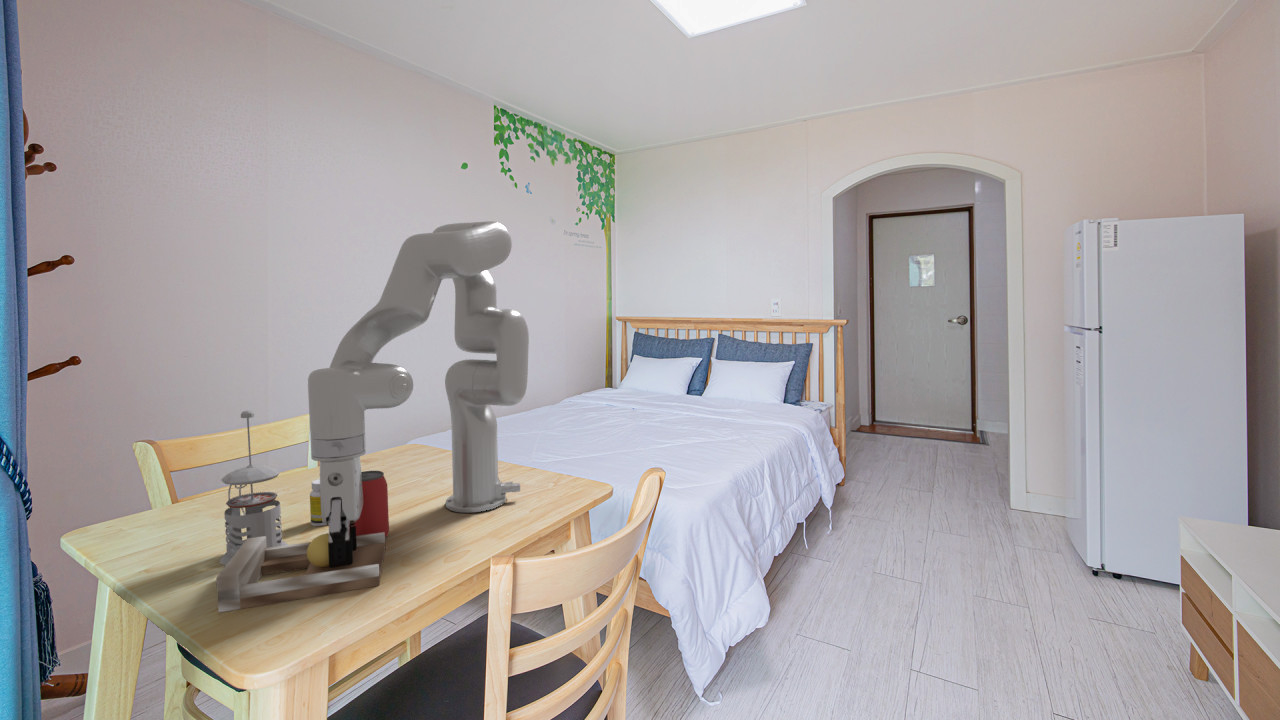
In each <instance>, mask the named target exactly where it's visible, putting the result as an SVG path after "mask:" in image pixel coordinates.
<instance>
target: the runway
mask: <svg viewBox="0 0 1280 720" xmlns="http://www.w3.org/2000/svg"><path fill="white" fill-rule="evenodd" d="M246 539H247V538H246ZM356 540H357V548H356V550H355V551H353V563H352V564H351V565H347V566H340V567H334V568H330V567H329V566H327V567H317V566H315V565H313V564H311V563H310V561H309V560H308V557H307V549H308V546H309V544H310V543H311V542H312V541H309V542H302V543H301V542H300V543H294V544H288V545H285V546H277V547H270V548H267V545H266V536H263V537H255V538H248V539H247V540H246V541H245V542H244V544H243V545H242V546H241V547H240V549H239V550H238V551H237V552H236V554H235V555H234V556H233V558H232V559H231V560H230V561H229V563H228V564H227V565H224V568H222V569H221V571H220V573H219V574H218V575H217V576H216V594H217V605H218V606H217V607H218V613H224V612H229V611H237V610H241V609H247V608H248V609H249V608H254V607H259V606H264V605H271V604H278V603H282V602H283V603H284V602H288V601H289V602H291V601H296V600H302V599H308V598H313V597H319V596H325V595H330V594H337V593H343V592H349V591H355V590H361V589H367V588H368V589H369V588H374V587H379V586H380V583H381V576H382V570H383V565H384V557H385V553H386V537H385V532H382V533H375V534H367V535H360V536H356ZM304 569H306V571H305V573H304V574H303V575H299V576H297V575H296V576H292V577H291V576H290V577H285V578H277V579H272V580H264V581H260V579H261V577H262V576H265V575H271V574H272V575H273V574H279V573H284V572H285V573H286V572H291V571H298V570H304Z"/></svg>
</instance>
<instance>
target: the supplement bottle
mask: <svg viewBox="0 0 1280 720" xmlns="http://www.w3.org/2000/svg"><path fill="white" fill-rule="evenodd" d="M309 506H310V507H309V509H310V510H309V511H310V524H311V525H312V526H315V527H317V526H318V527H323V526H326V525H325V524H324V523H323V522H322V513H321V497H320V478H318V479H315V480H313V481H311V491H310V493H309ZM327 526H329V523H328V525H327Z"/></svg>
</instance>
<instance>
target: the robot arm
mask: <svg viewBox="0 0 1280 720" xmlns="http://www.w3.org/2000/svg"><path fill="white" fill-rule="evenodd" d="M512 242H513V241H512V237H511V235H510V232H509V230H507V227H506V226H504V224H502V223H500V222H497V221H494V220H493V221H492V220H490V221H487V220H486V221H476V222H475V221H474V222H459V223H458V222H457V223H448V224H444V225H440V226H438V227H436V228H435V229H434V230H433V231H432V232H425V233H424V232H423V233H417V234H413V235H411V236H408V237H407V238H406V239H405V240H404V241H403V243H402V245H401V247H400V249H399V251H398V254H397V256H396V259H395V261H394V264H393V266H392V269H391V272H390V275H389V277H388V279H387V281H386V284H385V286H384V288H383V292H382V294H381V296H380V299H379V301H378V302H377V303H376V305H375V306H373V307H372V308H371V309H369V311H367V312H366V313H365V314H364V315H363V316H362V317H361V318H360V319H359V320H358V321H357V322H356V323H355V324H353V325H352V327H351V328H350V329H349V330H348V331H347V332H346V333H345V335H344V336H343V337H342V339H341V341H340V342H339V344H338V346H337V348H336V350H335V353H334V355H333V358H332V360H331V363H330V366H329V367H325V368H324V367H323V368H318V369H316V370H313V371H312V372H310V374H309V375H308V378H307V390H308V391H307V392H308V394H307V395H308V411H309V412H308V414H309V435H310V439H309V440H310V455H311V457H310V458H311V460H312V461H315V462H319V479H320V497H321V513H322V522H323V523H324V524H325V525H324V526H328V534H329V542H328V552H329V567H330V568H334V567H340V566H347V565H351V564H352V563H353V551H355V550H356V548H357V540H356V526H354V525H355V521H357V520H358V519H359V517H360V514H361V511H362V508H363V489H362V474H361V472H362V464H361V457H362V456H364V455H366V454H367V447H366V446H367V444H366V423H365V421H366V417H365V411H366V410H375V409H381V410H382V409H391V408H395V407H398V406H400V405H403V404H404V403H405V402H407V401H408V399H409V398H410V397H411V395H412V393H413V390H414V379H413V377H412V375H411V373H410V372H409V371H408V370H407V369H405V368H404V367H402V366H400V365H397V364H393V363H383V362H382V363H381V362H380V363H378V362H373V361H374V360H375V358H376V356H377V354H378V353H379V352H380V350H382V349H383V348H384V347H385V346H386V345H387V344H388V343H390V342H392V340H394V339H396V338H398V337H400V336H402V335H404V334H406V333H409V332H410V331H412V330H414V329H416V328H418V327H419V326H421V325H423V324H425V322H427V321H428V319H429V317H430V314H431V311H432V308H433V305H434V302H435V299H436V297H437V294H438V292H439V288H440V285H441V283H442V281H443V280H446V279H448V280H449V279H452V281H453V284H454V293H455V295H454V297H455V298H454V302H455V303H454V305H455V306H454V341H455V344H456V346H457V347H458V349H460V350H461V351H463V352H465V353H469V354H471V353H472V354H490V355H496V359H495V360H492V359H490V360H489V359H474V358H473V359H463V360H459V361H457V362H454V363H453V364H452V365H451V366H449V368H448V370H447V372H446V373H445V376H444V377H445V379H444V385H445V388H444V389H445V392H446V396H447V400H448V404H449V411H450V421H451V422H450V424H451V456H452V457H451V460H452V461H451V462H452V466H451V467H452V468H451V469H452V495H450V496H448V497H447V498H446V499H445V508H447V509H448V510H449V511H452V512H455V513H463V514H466V513H471V514H472V513H481V511H482V512H487V511H491V510H493V508H494V509H497V508H499V507H501V506H502V505H503V504H505V503H506V501H505V500H507V496H506V493H507V494H508V493H518V492H521V484H520V483H521V482H514V483H513V481H506V482H502V481H501V480H500V479H499V461H498V460H499V458H498V457H499V456H498V455H499V453H498V448H499V447H498V421H497V418H496V415H495V413H494V410H493V409H492V407H491V406H500V407H511V406H516V405H518V404H519V403H520V402H522V400H523V399H524V397H525V394H526V392H527V386H528V373H529V372H528V371H529V369H528V368H529V346H530V345H529V344H530V343H529V339H530V338H529V337H530V336H529V335H530V334H529V329H528V324H527V321H526V319H525V318H524V316H523V314H521V313H520V312H518V311H517V310H515V309H510V308H497V287H496V282H495V280H494V277H493V276H492V274H491V273H490V272H489V270H491V269H494V268H495V267H498V266H499V265H502V264H503V263H504V262H505V261H506V260H507V259H508V258H509V256H510V254H511V251H512V247H513V246H512V244H513V243H512ZM504 502H505V503H504ZM501 504H502V505H501ZM500 505H501V506H500ZM498 506H499V507H498ZM496 507H497V508H496ZM490 509H491V510H490ZM486 510H487V511H486ZM328 523H329V525H328Z"/></svg>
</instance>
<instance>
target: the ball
mask: <svg viewBox="0 0 1280 720" xmlns="http://www.w3.org/2000/svg"><path fill="white" fill-rule="evenodd" d="M310 542H311V543H310V544H309V546H308V549H307V557H308V560H309V561H310V563H311V564H313V565H315V566H317V567H327V566H329V552H328V542H329V533H324V534H320V535H318V536H316V537H315V538H313V539H312V540H311V541H310Z"/></svg>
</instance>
